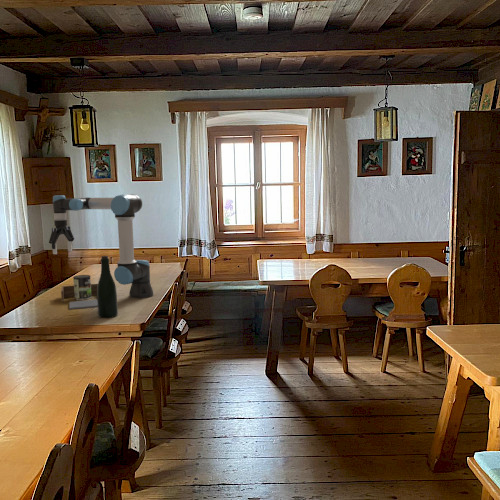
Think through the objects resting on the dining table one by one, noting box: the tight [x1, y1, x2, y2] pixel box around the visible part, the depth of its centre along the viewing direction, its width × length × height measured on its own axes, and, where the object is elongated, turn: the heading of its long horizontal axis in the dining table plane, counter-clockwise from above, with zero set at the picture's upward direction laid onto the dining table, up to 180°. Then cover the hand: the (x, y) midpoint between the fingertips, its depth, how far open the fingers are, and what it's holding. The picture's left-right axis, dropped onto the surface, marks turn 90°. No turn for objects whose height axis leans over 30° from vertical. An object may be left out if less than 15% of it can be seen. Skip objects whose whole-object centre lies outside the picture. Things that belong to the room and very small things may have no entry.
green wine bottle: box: [96, 255, 119, 319], centre depth 275 cm, size 10×10×33 cm
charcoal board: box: [68, 299, 98, 310], centre depth 302 cm, size 16×16×1 cm
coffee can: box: [72, 274, 92, 301], centre depth 320 cm, size 10×10×14 cm
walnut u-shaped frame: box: [60, 283, 98, 303], centre depth 321 cm, size 15×25×7 cm, turn 109°
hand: (62, 252), depth 326 cm, fingers open, 13 cm apart
